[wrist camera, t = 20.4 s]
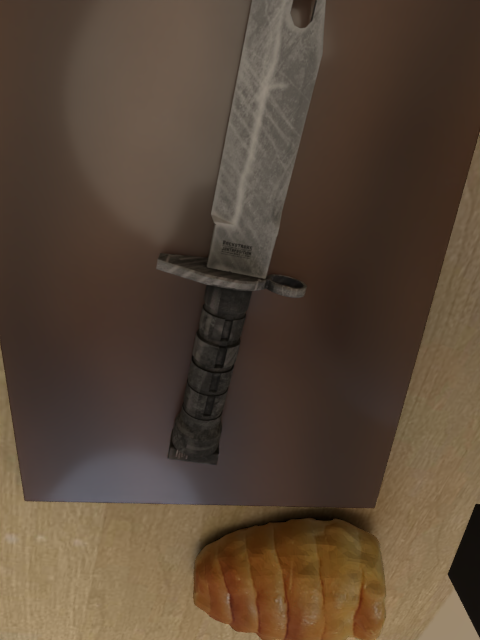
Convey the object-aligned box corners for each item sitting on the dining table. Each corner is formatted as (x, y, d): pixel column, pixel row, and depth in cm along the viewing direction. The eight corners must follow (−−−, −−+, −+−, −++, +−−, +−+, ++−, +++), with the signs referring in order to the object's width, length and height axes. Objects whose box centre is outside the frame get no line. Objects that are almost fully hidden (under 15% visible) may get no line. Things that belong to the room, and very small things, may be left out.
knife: (228, -233, 9) (451, -153, 10) (226, -172, 11) (413, -108, 11) (125, 463, 16) (255, 480, 17) (134, 429, 18) (251, 446, 19)
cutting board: (539, -167, 12) (572, -198, 11) (367, 489, 22) (375, 509, 20) (-68, -263, 11) (-101, -308, 10) (34, 481, 20) (24, 501, 19)
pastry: (196, 601, 24) (192, 681, 21) (192, 511, 22) (187, 585, 18) (361, 594, 25) (385, 670, 21) (377, 505, 22) (407, 575, 19)
